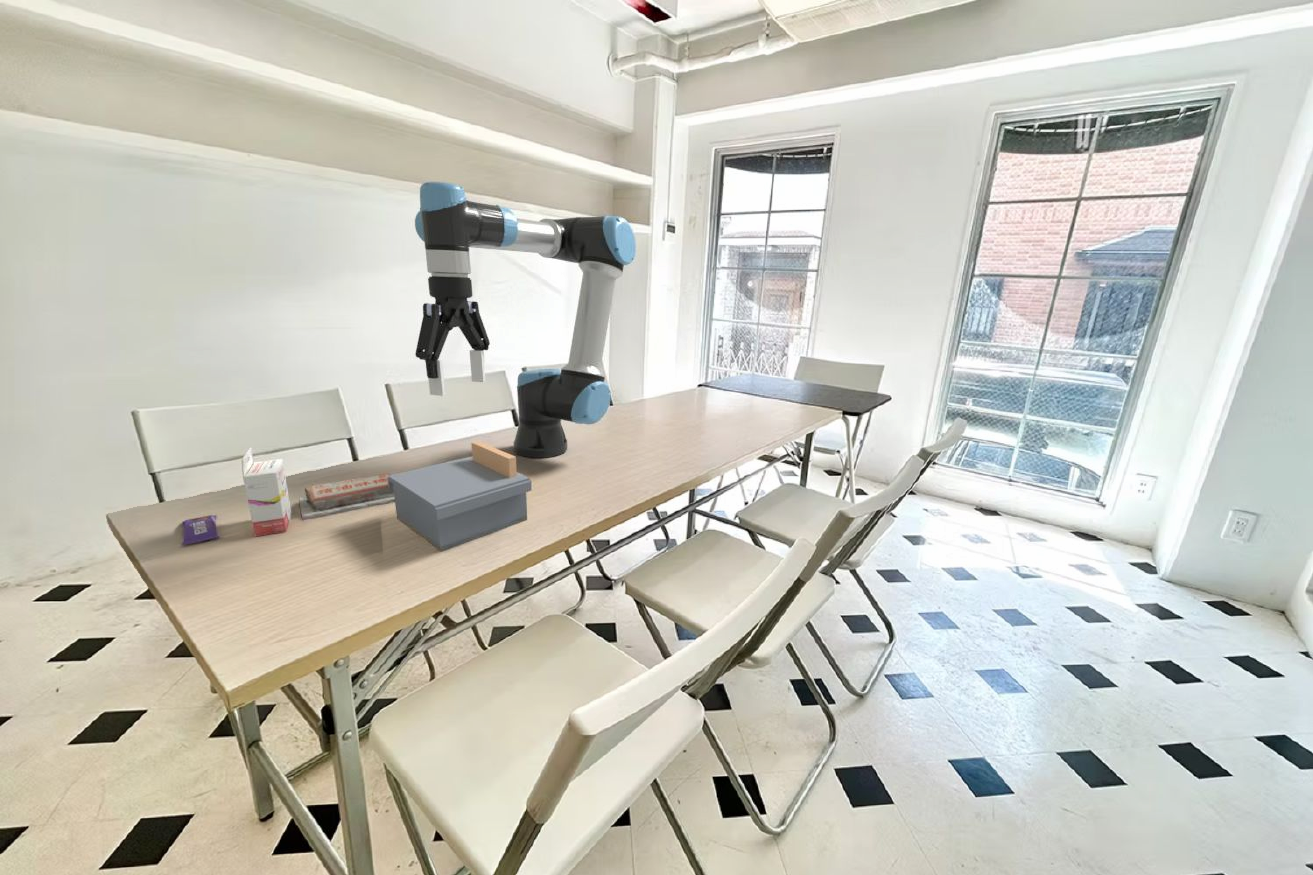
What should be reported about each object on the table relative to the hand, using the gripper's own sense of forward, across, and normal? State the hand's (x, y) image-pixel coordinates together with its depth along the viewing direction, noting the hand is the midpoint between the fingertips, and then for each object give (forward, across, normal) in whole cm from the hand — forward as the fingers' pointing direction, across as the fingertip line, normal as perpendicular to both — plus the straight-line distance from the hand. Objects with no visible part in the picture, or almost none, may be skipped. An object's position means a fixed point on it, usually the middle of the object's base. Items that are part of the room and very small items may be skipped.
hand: (459, 388), depth 99 cm
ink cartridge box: (+25, +19, -29) cm, 43 cm away
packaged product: (+26, +6, -24) cm, 36 cm away
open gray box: (+25, +7, +3) cm, 26 cm away
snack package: (+26, +25, -39) cm, 53 cm away
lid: (+19, +7, +3) cm, 20 cm away
